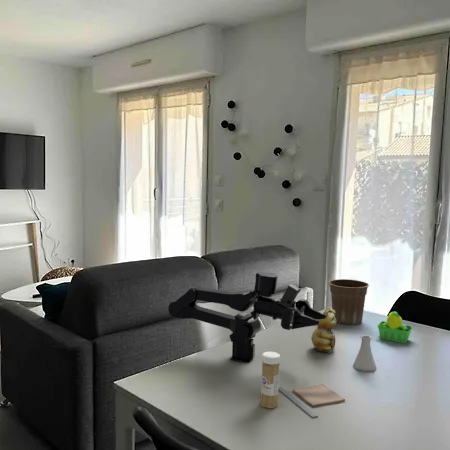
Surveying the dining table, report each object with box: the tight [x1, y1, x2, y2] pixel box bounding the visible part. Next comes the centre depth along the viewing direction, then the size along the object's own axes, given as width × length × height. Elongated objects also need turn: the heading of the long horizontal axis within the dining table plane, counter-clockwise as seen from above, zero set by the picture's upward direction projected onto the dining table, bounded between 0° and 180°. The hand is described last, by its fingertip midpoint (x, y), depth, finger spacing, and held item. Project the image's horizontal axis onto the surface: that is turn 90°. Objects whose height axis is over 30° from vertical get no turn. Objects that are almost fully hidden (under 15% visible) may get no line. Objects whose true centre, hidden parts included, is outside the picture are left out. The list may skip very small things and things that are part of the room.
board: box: [292, 384, 346, 408], centre depth 129 cm, size 10×10×1 cm
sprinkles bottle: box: [260, 351, 281, 409], centre depth 123 cm, size 5×5×13 cm
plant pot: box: [328, 278, 370, 325], centre depth 202 cm, size 16×16×16 cm
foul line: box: [278, 386, 319, 419], centre depth 126 cm, size 18×2×1 cm, turn 23°
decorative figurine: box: [310, 306, 338, 354], centre depth 165 cm, size 10×8×15 cm
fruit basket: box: [377, 311, 413, 344], centre depth 179 cm, size 11×9×11 cm
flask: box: [352, 334, 377, 372], centre depth 150 cm, size 7×7×10 cm
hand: (322, 319), depth 144 cm, fingers open, 9 cm apart
